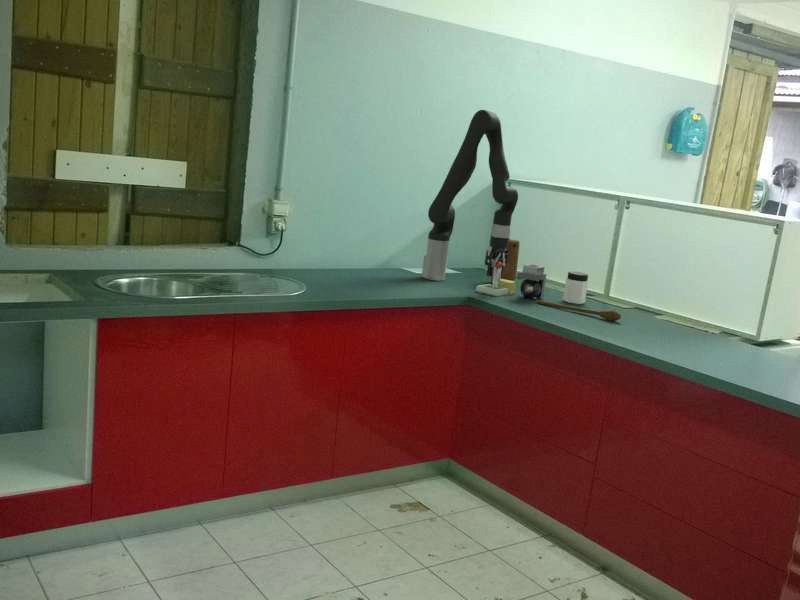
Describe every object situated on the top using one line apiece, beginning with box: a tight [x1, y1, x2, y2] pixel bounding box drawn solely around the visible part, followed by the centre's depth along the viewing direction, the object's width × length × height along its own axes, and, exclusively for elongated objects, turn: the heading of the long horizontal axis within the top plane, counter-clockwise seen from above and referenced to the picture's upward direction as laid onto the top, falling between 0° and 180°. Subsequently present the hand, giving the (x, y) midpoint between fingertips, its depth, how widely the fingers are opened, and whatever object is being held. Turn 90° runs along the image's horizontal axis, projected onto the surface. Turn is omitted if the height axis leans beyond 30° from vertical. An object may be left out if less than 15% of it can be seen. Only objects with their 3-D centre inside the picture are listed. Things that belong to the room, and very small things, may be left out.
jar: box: [562, 271, 589, 305], centre depth 329 cm, size 9×8×12 cm
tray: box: [475, 283, 509, 297], centre depth 328 cm, size 10×10×2 cm
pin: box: [491, 261, 504, 290], centre depth 329 cm, size 4×4×12 cm
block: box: [490, 238, 521, 283], centre depth 351 cm, size 11×8×20 cm
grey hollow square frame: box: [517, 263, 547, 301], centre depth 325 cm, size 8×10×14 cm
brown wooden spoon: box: [534, 299, 622, 322], centre depth 307 cm, size 5×35×5 cm
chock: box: [500, 279, 517, 295], centre depth 334 cm, size 7×5×5 cm
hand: (494, 275), depth 327 cm, fingers open, 7 cm apart
